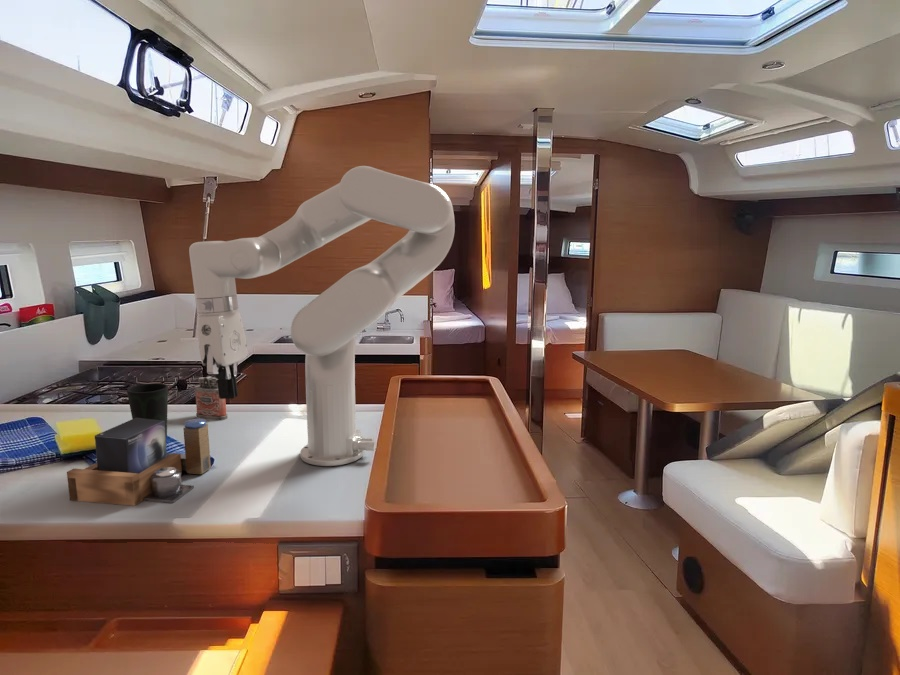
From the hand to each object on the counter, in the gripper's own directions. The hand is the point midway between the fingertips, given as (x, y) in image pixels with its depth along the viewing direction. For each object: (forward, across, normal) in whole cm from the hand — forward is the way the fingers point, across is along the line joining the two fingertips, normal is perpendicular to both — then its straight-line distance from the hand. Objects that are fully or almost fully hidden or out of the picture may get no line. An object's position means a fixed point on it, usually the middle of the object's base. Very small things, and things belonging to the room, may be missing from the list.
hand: (228, 397), depth 119 cm
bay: (+11, -18, +10) cm, 23 cm away
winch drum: (+12, -19, +2) cm, 23 cm away
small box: (+11, -16, +10) cm, 22 cm away
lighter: (+11, +21, +18) cm, 29 cm away
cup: (+11, +3, +20) cm, 23 cm away
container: (+11, -10, +8) cm, 17 cm away
